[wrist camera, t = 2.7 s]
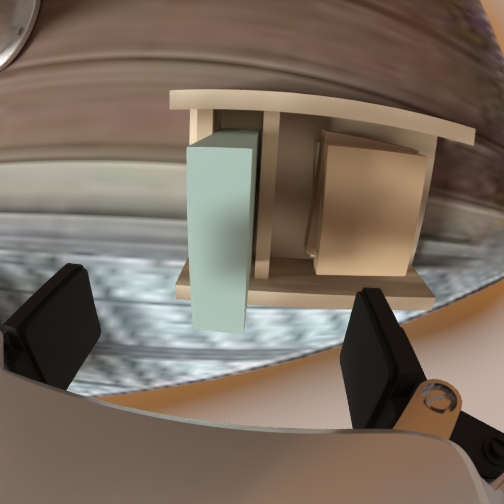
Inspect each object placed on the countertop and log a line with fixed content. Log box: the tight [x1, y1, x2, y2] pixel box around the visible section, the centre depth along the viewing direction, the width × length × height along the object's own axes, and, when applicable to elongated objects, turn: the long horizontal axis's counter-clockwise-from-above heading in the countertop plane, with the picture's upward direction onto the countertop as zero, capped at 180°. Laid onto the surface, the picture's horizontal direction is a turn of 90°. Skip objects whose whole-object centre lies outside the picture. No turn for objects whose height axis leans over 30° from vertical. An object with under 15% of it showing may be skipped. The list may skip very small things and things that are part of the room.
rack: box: [170, 90, 476, 310], centre depth 23 cm, size 14×20×7 cm
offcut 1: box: [304, 130, 419, 255], centre depth 22 cm, size 9×7×2 cm
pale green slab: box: [187, 128, 259, 334], centre depth 19 cm, size 9×3×12 cm, turn 177°
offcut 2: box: [314, 143, 427, 276], centre depth 21 cm, size 9×7×2 cm
